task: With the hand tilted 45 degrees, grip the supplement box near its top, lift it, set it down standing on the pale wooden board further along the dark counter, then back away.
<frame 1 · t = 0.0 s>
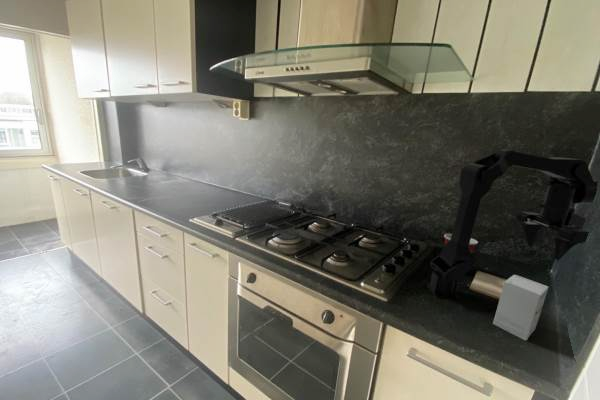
hand: (542, 252, 82), 15 cm above the worktop, tool pointing down, fingers open, 9 cm apart
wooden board: (500, 289, 88), on the worktop
plastic cup: (454, 267, 102), on the worktop
supplement box: (513, 327, 70), on the worktop
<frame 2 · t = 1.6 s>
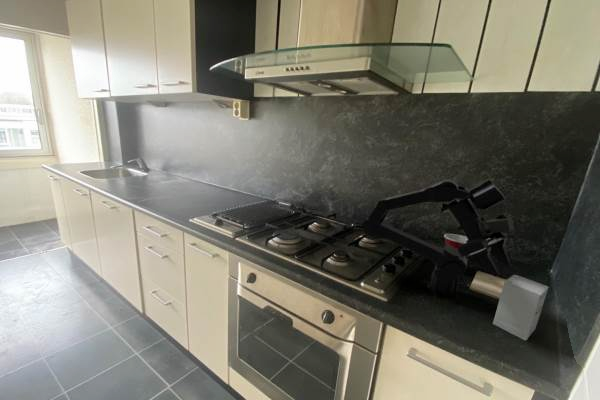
hand: (503, 271, 71), 13 cm above the worktop, tool tilted 45°, fingers open, 9 cm apart
nothing on the worktop moved.
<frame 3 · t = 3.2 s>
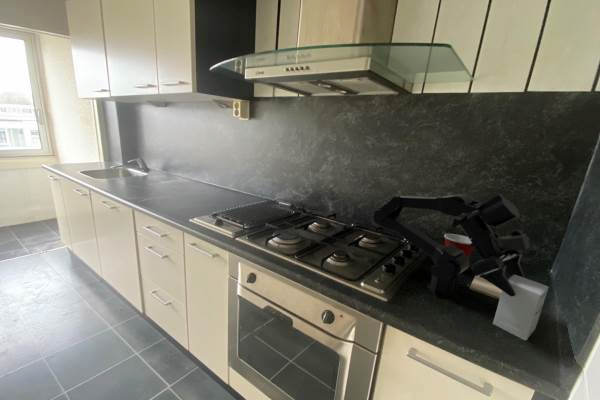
hand: (519, 290, 69), 10 cm above the worktop, tool tilted 45°, fingers open, 9 cm apart
nothing on the worktop moved.
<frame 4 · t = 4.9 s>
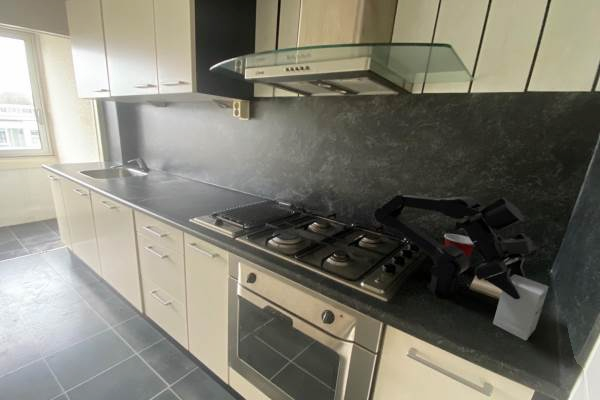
hand: (522, 293, 68), 10 cm above the worktop, tool tilted 45°, fingers closed on supplement box, 7 cm apart
supplement box: (513, 327, 70), on the worktop, touching gripper
everything else where it was.
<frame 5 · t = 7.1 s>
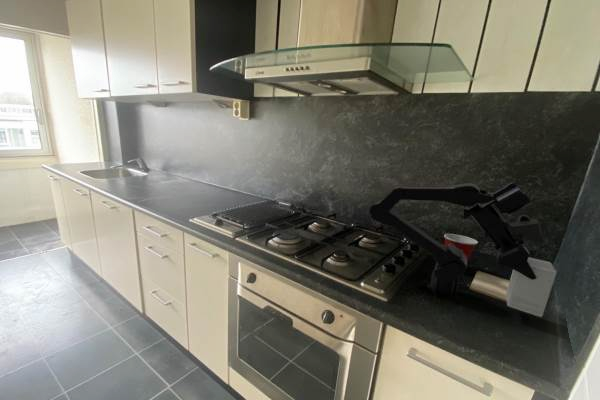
hand: (532, 272, 71), 13 cm above the worktop, tool tilted 45°, fingers closed on supplement box, 7 cm apart
supplement box: (522, 305, 74), point 3 cm above the worktop, touching gripper
everything else where it was.
when the fingers open (11 cm above the worktop, at t = 9.2 s): supplement box stays where it is, resting on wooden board.
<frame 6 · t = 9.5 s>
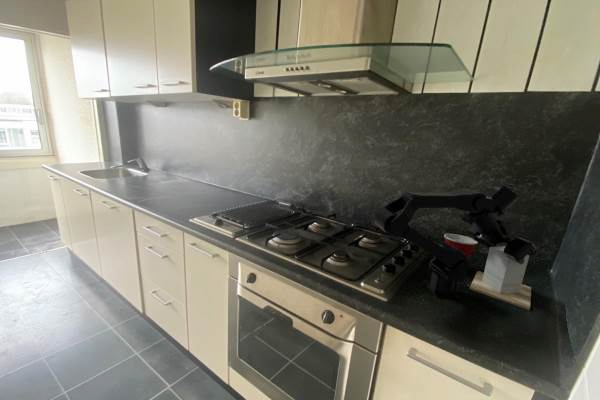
hand: (508, 256, 85), 12 cm above the worktop, tool tilted 45°, fingers open, 9 cm apart
supplement box: (499, 287, 88), point 1 cm above the worktop, touching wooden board
everything else where it was.
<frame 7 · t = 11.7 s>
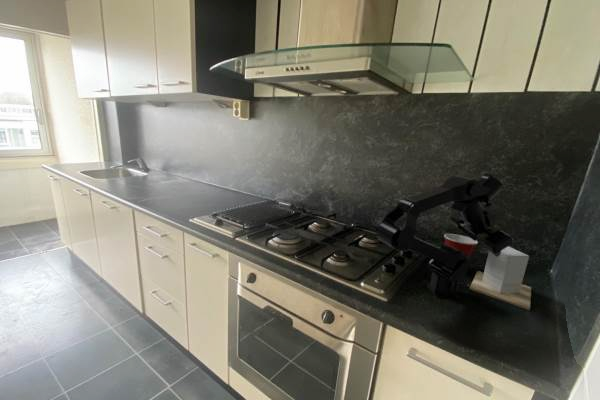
hand: (486, 247, 87), 13 cm above the worktop, tool tilted 40°, fingers open, 9 cm apart
nothing on the worktop moved.
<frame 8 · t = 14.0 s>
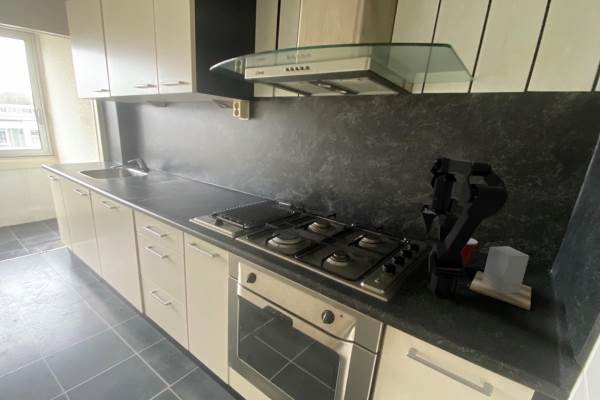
hand: (434, 237, 94), 13 cm above the worktop, tool pointing down, fingers open, 9 cm apart
nothing on the worktop moved.
at the end: supplement box inside the target area on the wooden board (0.3 cm from its centre), point 0.6 cm above the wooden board's base; supplement box tilted 0°; the gripper is holding nothing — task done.
